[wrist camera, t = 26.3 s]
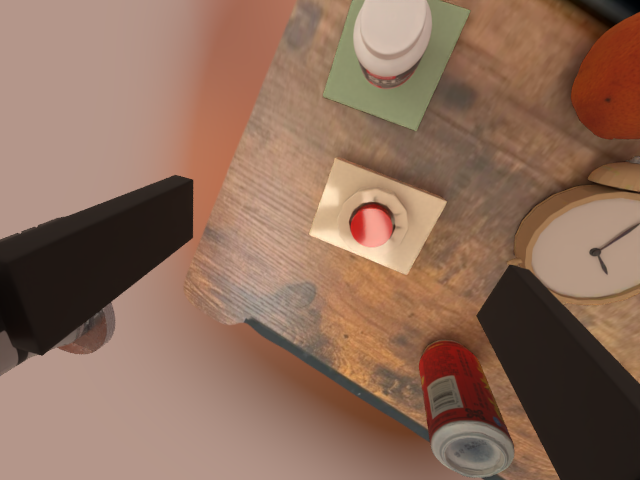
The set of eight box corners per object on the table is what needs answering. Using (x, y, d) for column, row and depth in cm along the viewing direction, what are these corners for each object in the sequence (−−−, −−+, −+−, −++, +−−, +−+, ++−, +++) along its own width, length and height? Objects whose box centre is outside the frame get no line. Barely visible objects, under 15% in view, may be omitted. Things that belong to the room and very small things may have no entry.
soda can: (405, 357, 37) (415, 452, 26) (444, 325, 34) (474, 416, 23) (447, 387, 37) (474, 495, 26) (489, 358, 35) (539, 464, 23)
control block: (312, 229, 34) (303, 240, 30) (338, 156, 30) (331, 159, 27) (405, 267, 33) (408, 283, 29) (443, 197, 29) (451, 205, 26)
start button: (346, 232, 29) (344, 238, 28) (361, 198, 28) (359, 201, 26) (382, 247, 29) (382, 253, 27) (399, 212, 27) (399, 217, 26)
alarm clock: (494, 260, 28) (680, 126, 19) (485, 237, 32) (635, 118, 23) (582, 326, 28) (802, 223, 20) (562, 295, 32) (737, 199, 24)
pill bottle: (369, 99, 27) (361, 81, 18) (353, 40, 26) (336, -12, 17) (426, 76, 26) (449, 43, 17) (412, 10, 24) (428, -64, 15)
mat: (323, 97, 29) (322, 96, 28) (360, -23, 25) (360, -27, 24) (415, 131, 28) (416, 131, 27) (469, 13, 24) (470, 10, 23)
